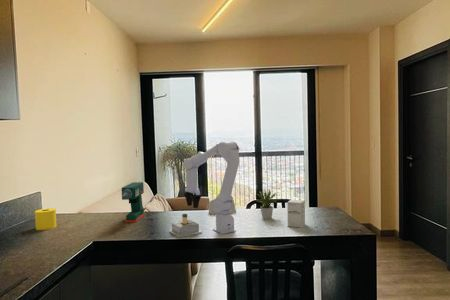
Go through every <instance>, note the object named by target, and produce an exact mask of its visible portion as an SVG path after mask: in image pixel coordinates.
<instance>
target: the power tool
mask: <svg viewBox="0 0 450 300" xmlns="http://www.w3.org/2000/svg"><path fill="white" fill-rule="evenodd" d="M144 189H145V188H144V182H142V181H140V182H131V183H129V184H126V185H124V186H122V187H121V200H122V201H123V200H124V201H126V200H128V204H130V210H131V211H130V212H128V213H127V214H126V215H125V218H126V219H125V220H124V222H125V223H137V222H139V220H140V218H141V219H142V218H143V217H144V216H145V214H146V213H145V211H144V206H143V198H142V195H143V194H144V193H145V190H144Z"/></svg>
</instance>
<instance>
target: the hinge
mask: <svg viewBox="0 0 450 300" xmlns="http://www.w3.org/2000/svg"><path fill="white" fill-rule="evenodd" d="M215 199H216V198H214V199H212V200H210V201H208V214H209V215H210V216H213V215H214V216H215V215H216V214H215V212H214V210H213V208H212V204H213V202H214V201H215ZM236 209H237V208H236V206H235V201H234V199H233V207H232V209H231V212H230V214H237V210H236Z"/></svg>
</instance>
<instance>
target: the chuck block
mask: <svg viewBox="0 0 450 300" xmlns="http://www.w3.org/2000/svg"><path fill="white" fill-rule="evenodd" d="M187 222H188V224H185V225H183V220H182V221H177V222H171V228H170V229H169V230H168V231H169V233H170V234H172V235H173V236H175V237H177V238H183V237H184V238H185V237H189V236H193V235H200V234H202V232H203V231H202V230H200V225H199V223H197V222H196V221H193V220H192V219H189V220H188V219H187Z"/></svg>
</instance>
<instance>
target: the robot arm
mask: <svg viewBox="0 0 450 300" xmlns="http://www.w3.org/2000/svg"><path fill="white" fill-rule="evenodd" d="M217 154H219V156H220V157H222V159H223V160H225V161H226V163H227V165H226V168H225V171H224V175H223V178H222V179H223V180H222V184H221V187H220V191H219V194H217V195H216V197H215V198H214V199H215V201H214V202H213V204H212V208H213V210H214V212H215V214H214V215H215V228H212V231H215V232H217V233H219V234H221V235H224V234H229V233H234V232H236V231H237V230H236V229H235V219H234V216H233V215H232V213H230V212H231V209H232V207H233V200H234V197H233V196H232V192H233V188H234V184H235V181H236V176H237V173H238V169H239V165H240V155H239V154H240V147H239V145H238V143H237V142H235V141H227V142H225V141H222V142H218V143H216V144H215V145H214V146H212V147H211V148H210V149H208V150H207V151H205V152H203V151H198V152H197V153H196V154H195V155H191V157H190V158H189V157H188V158H185V159H184V160H183V163H182V164H183V168H184V170H185V177H186V178H185V179H186V181H185V182H186V183H185V184H186V187H185V188H184V192H183V195H184V198H185V201H186V205H187V207H190V206H191V207H192V206H193V209H198V208H199V205H200V204H199V203H200V201H201V198H202V196H203V195H202V194H201V191H200V188H198V170H199V167H200V166H201V165H203V164H205V163H207V162H208V159H209V158H211V157H213V156H215V155H217Z"/></svg>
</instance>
